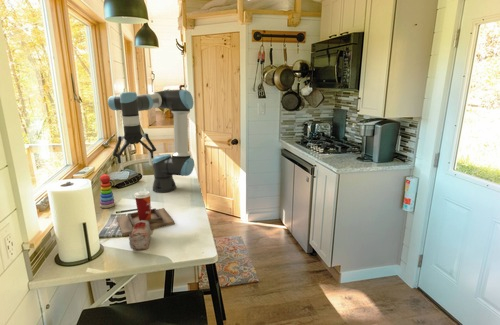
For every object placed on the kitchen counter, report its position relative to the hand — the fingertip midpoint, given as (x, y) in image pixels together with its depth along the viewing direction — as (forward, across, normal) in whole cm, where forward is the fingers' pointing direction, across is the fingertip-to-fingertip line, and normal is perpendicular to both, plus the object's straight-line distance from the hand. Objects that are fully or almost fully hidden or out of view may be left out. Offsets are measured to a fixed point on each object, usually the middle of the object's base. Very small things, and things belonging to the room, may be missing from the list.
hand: (136, 167), depth 150 cm
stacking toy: (+28, +13, -27) cm, 41 cm away
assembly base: (+27, 0, +7) cm, 28 cm away
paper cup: (+26, 0, +7) cm, 27 cm away
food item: (+27, +7, +28) cm, 40 cm away
